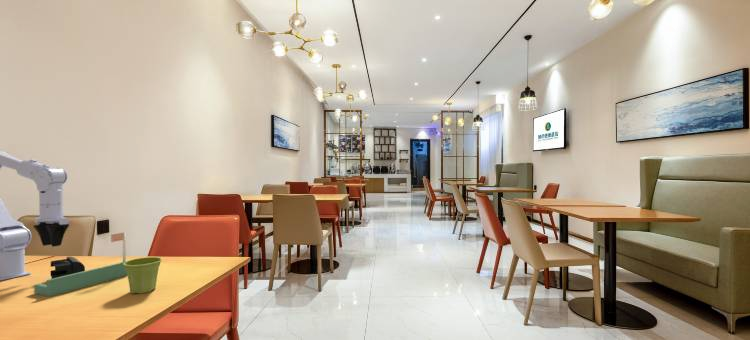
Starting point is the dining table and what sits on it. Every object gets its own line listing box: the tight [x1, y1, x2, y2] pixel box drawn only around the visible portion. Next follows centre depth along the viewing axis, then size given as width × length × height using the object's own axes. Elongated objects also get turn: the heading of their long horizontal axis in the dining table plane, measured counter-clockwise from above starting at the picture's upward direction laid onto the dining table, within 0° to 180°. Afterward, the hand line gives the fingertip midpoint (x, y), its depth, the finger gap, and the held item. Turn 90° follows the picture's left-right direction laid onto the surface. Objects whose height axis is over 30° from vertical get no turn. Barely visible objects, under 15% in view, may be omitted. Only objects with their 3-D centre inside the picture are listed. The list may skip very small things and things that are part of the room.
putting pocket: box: [33, 231, 128, 297], centre depth 110 cm, size 7×22×14 cm, turn 159°
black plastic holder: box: [50, 256, 86, 279], centre depth 113 cm, size 10×7×7 cm
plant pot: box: [123, 256, 163, 295], centre depth 103 cm, size 9×9×9 cm
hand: (51, 245), depth 117 cm, fingers open, 4 cm apart
